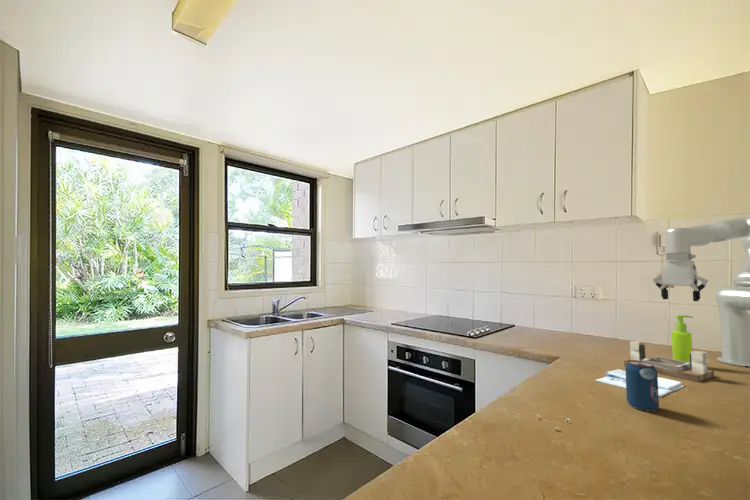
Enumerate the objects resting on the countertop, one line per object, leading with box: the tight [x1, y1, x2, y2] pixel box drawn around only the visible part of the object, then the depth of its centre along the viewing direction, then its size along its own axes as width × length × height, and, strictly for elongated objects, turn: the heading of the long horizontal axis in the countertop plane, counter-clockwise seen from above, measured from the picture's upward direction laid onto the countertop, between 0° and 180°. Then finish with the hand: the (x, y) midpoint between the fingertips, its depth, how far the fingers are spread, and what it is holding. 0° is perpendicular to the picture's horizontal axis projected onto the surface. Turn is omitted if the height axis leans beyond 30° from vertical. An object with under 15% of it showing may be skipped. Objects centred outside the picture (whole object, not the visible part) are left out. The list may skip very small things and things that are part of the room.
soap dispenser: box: [671, 314, 694, 362], centre depth 133 cm, size 6×7×20 cm
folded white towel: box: [595, 368, 685, 399], centre depth 111 cm, size 19×20×2 cm
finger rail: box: [623, 340, 715, 383], centre depth 126 cm, size 14×22×9 cm, turn 28°
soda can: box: [624, 359, 660, 412], centre depth 92 cm, size 7×7×12 cm
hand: (680, 300), depth 134 cm, fingers open, 9 cm apart
